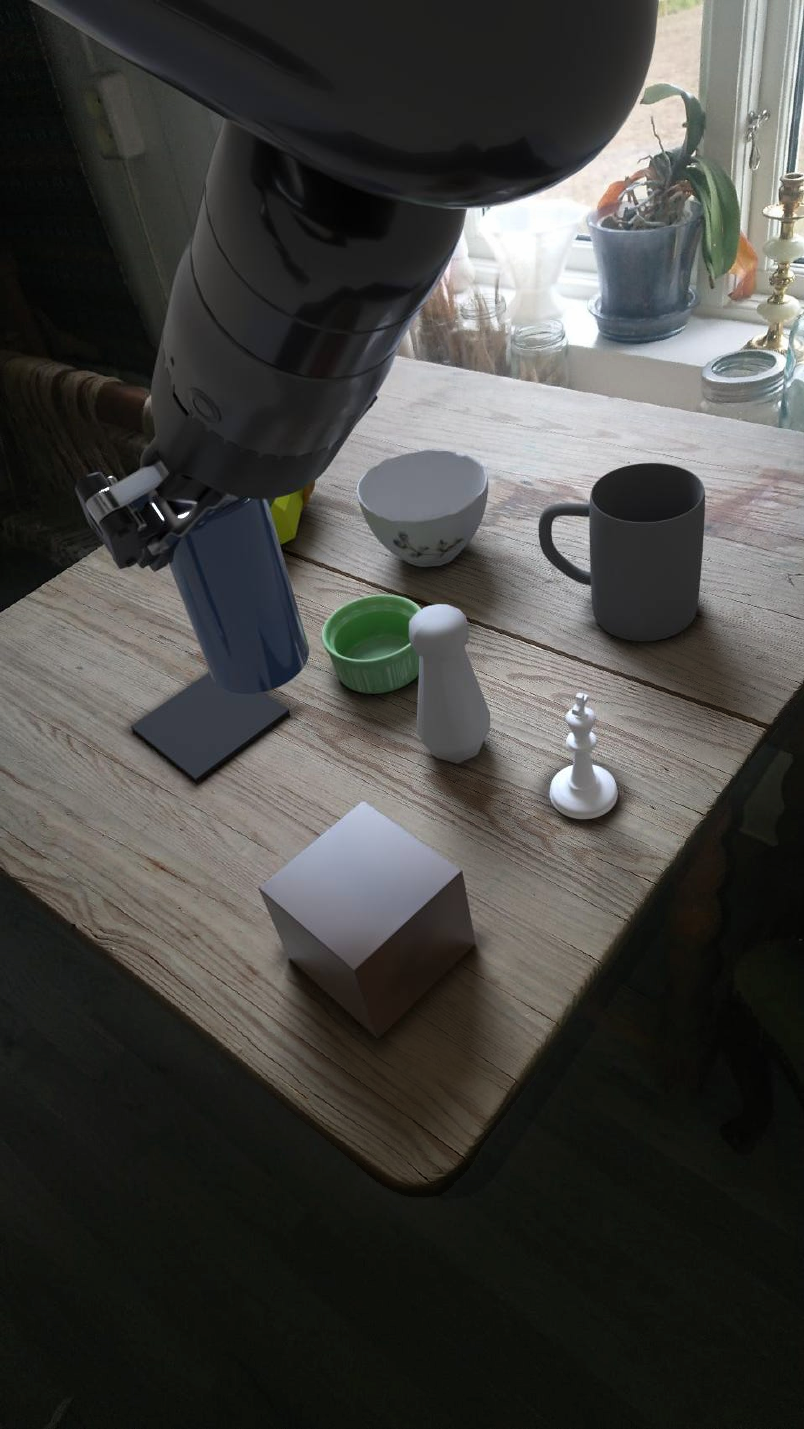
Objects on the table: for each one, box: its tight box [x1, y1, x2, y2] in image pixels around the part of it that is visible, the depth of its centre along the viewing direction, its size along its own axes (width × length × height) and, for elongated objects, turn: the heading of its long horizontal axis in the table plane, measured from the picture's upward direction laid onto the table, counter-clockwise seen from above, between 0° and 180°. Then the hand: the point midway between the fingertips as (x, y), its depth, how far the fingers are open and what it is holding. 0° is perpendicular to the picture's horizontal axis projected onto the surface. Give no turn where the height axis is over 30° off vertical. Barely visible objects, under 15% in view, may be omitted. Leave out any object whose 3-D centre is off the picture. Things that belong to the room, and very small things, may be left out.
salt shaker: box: [409, 603, 491, 764], centre depth 73 cm, size 6×6×13 cm
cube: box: [257, 800, 477, 1040], centre depth 62 cm, size 9×9×8 cm
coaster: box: [130, 671, 291, 783], centre depth 84 cm, size 10×10×1 cm
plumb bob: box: [270, 480, 316, 546], centre depth 102 cm, size 9×9×25 cm
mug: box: [538, 462, 706, 642], centre depth 82 cm, size 14×9×12 cm
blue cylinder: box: [152, 497, 310, 694], centre depth 50 cm, size 6×6×12 cm
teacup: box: [356, 448, 489, 568], centre depth 95 cm, size 15×12×8 cm
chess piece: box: [549, 692, 619, 820], centre depth 68 cm, size 5×5×10 cm
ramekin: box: [321, 594, 422, 695], centre depth 84 cm, size 9×9×4 cm
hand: (200, 524), depth 50 cm, fingers closed on blue cylinder, 5 cm apart
